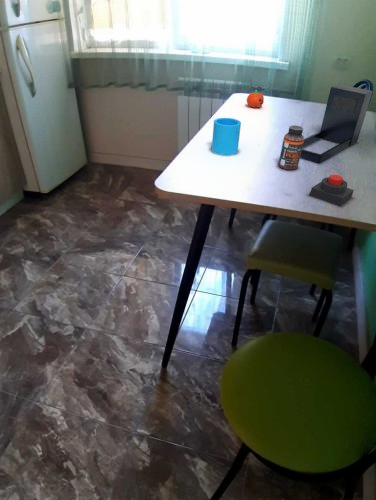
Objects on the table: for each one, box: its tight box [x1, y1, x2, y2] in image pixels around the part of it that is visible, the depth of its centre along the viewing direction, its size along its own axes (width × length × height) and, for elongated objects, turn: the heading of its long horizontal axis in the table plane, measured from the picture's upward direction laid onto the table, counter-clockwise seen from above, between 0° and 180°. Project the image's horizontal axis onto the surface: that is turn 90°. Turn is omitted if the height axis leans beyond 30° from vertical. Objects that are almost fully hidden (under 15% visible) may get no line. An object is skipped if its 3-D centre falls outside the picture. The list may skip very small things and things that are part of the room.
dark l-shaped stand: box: [300, 84, 374, 164], centre depth 134 cm, size 12×28×16 cm, turn 140°
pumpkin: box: [246, 89, 265, 108], centre depth 170 cm, size 7×8×6 cm
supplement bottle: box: [278, 124, 305, 171], centre depth 122 cm, size 6×6×11 cm
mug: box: [211, 117, 242, 156], centre depth 132 cm, size 13×9×9 cm
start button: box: [327, 174, 344, 186], centre depth 108 cm, size 4×4×2 cm
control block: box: [309, 176, 355, 207], centre depth 110 cm, size 9×7×4 cm
